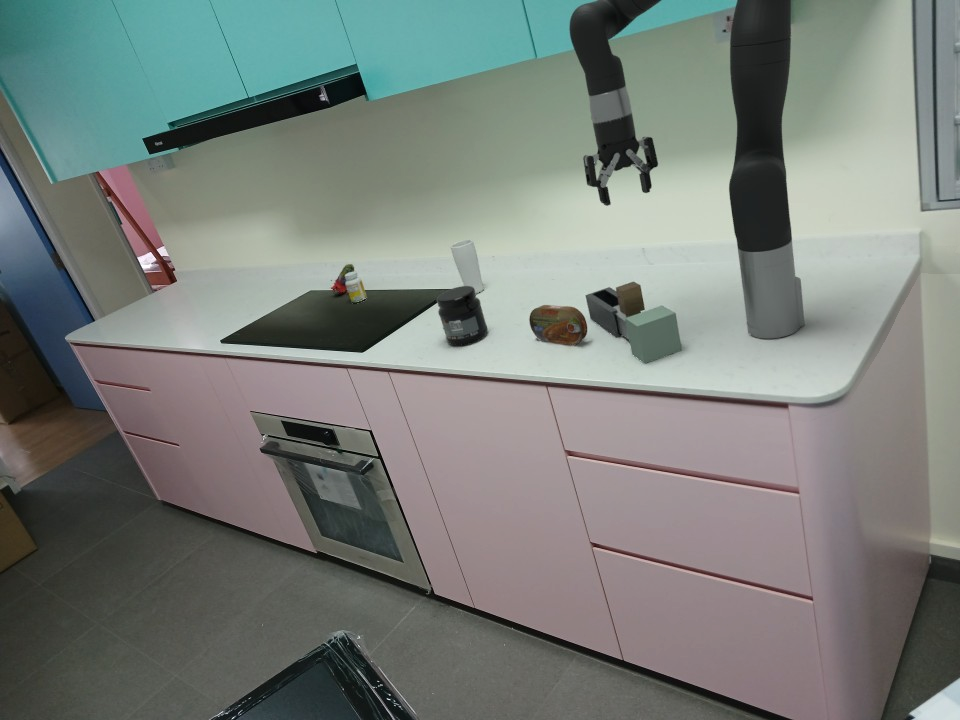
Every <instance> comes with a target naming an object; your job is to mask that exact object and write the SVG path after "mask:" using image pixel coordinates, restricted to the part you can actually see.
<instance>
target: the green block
mask: <svg viewBox="0 0 960 720" xmlns="http://www.w3.org/2000/svg"><path fill="white" fill-rule="evenodd" d="M625 321H626V326H627V331H628V336H629V339H628V340H629V346H630V351H631V355H632V356H633V355H634V356H633V357H635V358H636V357H637V358H638V360H639V361H640V360H641V361H642V364H644V363H645V364H647V362H648V363H650V362H649V361H651V362H653V361H652V360H654V361H655V360H658V358H659V359H661V357H662V358H664V356H665V357H667V356H669V355H673V354H675V352H676V353H679V352H681V351H683V349H682V343H681V337H680V331H679V326H678V324H679V323H678V319H677V313H676V312H675V311H673V310H672V309H670V308H667V307H666V306H664V305H659V306H656V307H654V308H650V309H648V310H643V311H641V313H639V314H636V315H633V316H630V317H627V318H625ZM678 351H679V352H678ZM672 353H673V354H672ZM666 355H667V356H666ZM637 358H636V359H637ZM641 361H640V362H641Z"/></svg>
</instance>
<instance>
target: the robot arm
mask: <svg viewBox="0 0 960 720" xmlns="http://www.w3.org/2000/svg"><path fill="white" fill-rule="evenodd" d="M661 1H662V0H596V1H595V0H594V1H591V2H587V3H584V4H580V5H579V6H577V7H576V8H575V9H574V10H573V12H572V14H571V16H570V20H569V36H570V41H571V45H572V46H573V49H574V53H575V54H576V57H577V59H578V62H579V64H580V66H581V68H582V70H583V73H584V76H585V83H586V89H587V93H588V94H587V95H588V100H589V109H590V111H589V112H590V119H591V121H592V127H593V130H594V131H593V132H594V136H595V142H596V146H597V153H596V154H591V155H588V154H585V155H583V158H582V160H583V167H584V174H585V180H586V185H587V186H589V187H592V188H596V189H597V192H598V197H599V200H600V203H602V204H603V206H606V207H609V206H611V203H612V202H611V198H610V193H609V188H608V186H607V184H608V182H609V179H610V178H611V177H612V174H613V172H618V171H621V170H622V169H623V168H625V169H626V168H630V167H631V166H633V167H634V168H636V170H638V171H639V172H640V173H639V181H640V186H641V192H642V193H644V194H648V193H650V192H651V189H652V180H651V171H652V170H653V169H655V168H657V167H658V166H659V163H658V157H657V154H656V148H655V144H654V138H653V137H651V136H643V137H642V138H641V139H639V140H638V139H637V137H636V128H635V123H634V117H633V111H632V105H631V100H630V96H629V92H628V89H627V84H626V78H625V73H624V68H623V64H622V61H621V58H620V57H619V56H617V55H615V54H613V51H612V50H611V49H612V48H611V45H610V43H609V40H611V39H612V38H614V37H616V36H617V35H618V34H619V33H621V32H622V31H623V30H624V29H626V28H627V27H628V26H629V25H630V24H632V22H634V20H636V18H638V17H639V16H641V15H642V14H644V13H646V12H647V11H649V10H651V8H653V7H655V6H656V5H657V4H659V3H660V2H661ZM791 4H792V0H737V1H736V5H735V8H734V13H733V16H732V17H733V18H732V23H731V29H730V40H729V47H730V48H729V71H730V84H731V85H730V86H731V93H732V99H733V106H734V110H735V111H734V112H735V117H736V139H735V140H736V144H735V151H734V162H733V168H732V172H731V174H730V175H731V176H730V180H729V184H728V193H729V201H730V204H729V205H730V209H731V217H732V224H733V232H734V236H735V240H736V245H737V252H738V253H737V255H738V261H739V262H738V263H739V269H740V277H741V278H740V279H741V286H742V293H743V294H742V295H743V301H744V309H745V318H746V326H747V333H748V334H749V335H750V336H752V337H754V338H759V339H765V340H766V339H778V338H779V339H780V338H783V337H787V336H790V335H793V334H794V333H796V332H797V331H799V329H800V328H801V327H803V326H805V324H806V323H805V313H804V302H803V292H802V291H803V289H802V281H801V278H800V277H798V276H797V275H796V268H795V258H794V256H795V255H794V249H793V248H794V247H793V237H792V225H791V223H792V222H791V216H790V208H789V207H790V205H789V194H788V183H787V168H786V163H785V155H784V144H783V143H784V142H783V114H784V107H785V101H786V97H787V92H788V84H789V76H790V67H791V47H792V46H791V44H792V42H791V41H792V38H791V37H792V30H791V29H792V25H791V24H792V18H791V17H792V15H791V13H792V5H791ZM640 148H641V150H643V153H644V157H645V162H646V163H645V162H644V160H643V159H641V158H640V157H639V156H638V155H637V154H638V152H639V150H640ZM598 161H600V162H601V163H602V164H601V167H600V169H599V172H598V173H599V174H598V176H597V173H596V166H597V165H598Z"/></svg>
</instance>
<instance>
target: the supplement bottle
mask: <svg viewBox="0 0 960 720" xmlns="http://www.w3.org/2000/svg"><path fill="white" fill-rule="evenodd" d="M345 278H346V280H347V281H346V283H345V284H346V287H347V289H346V290H347V291H348V293H349V294H348V293H347V294H348V296H349V298H350V301H351V303H352V302H359V301H362V300H364V299H366V298H367V299H368V296H367V293H366V290H365V286H364V284H363V280H362V278H361V277H359V276H358V272H357V271H355V270H354V272H350V273H347V274H345ZM367 299H366V300H367Z"/></svg>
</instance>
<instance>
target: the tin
mask: <svg viewBox="0 0 960 720" xmlns="http://www.w3.org/2000/svg"><path fill="white" fill-rule="evenodd" d="M528 320H529V325H530V329H531V331H532V333H533V334H534V335H535V337H536V338H537V339H539V341H541V342H543V343H548V344H549V343H550V344H556V345H565V346H575V345H577V344H579V343H580V342H582V341H583V340H584V339H585V338H586V337H587V334H588V324H587V323H588V322H587V319H586V317H585V316H584V314H583V313H582V312H581V311H580V310H579V309H578V308H576V307H575V306H574V307H573V306H570V305H569V306H568V305H567V306H566V305H554V304H553V305H552V304H544V305H540V306H539V307H535V308H533V310H531V312H530V314H529V319H528Z"/></svg>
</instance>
